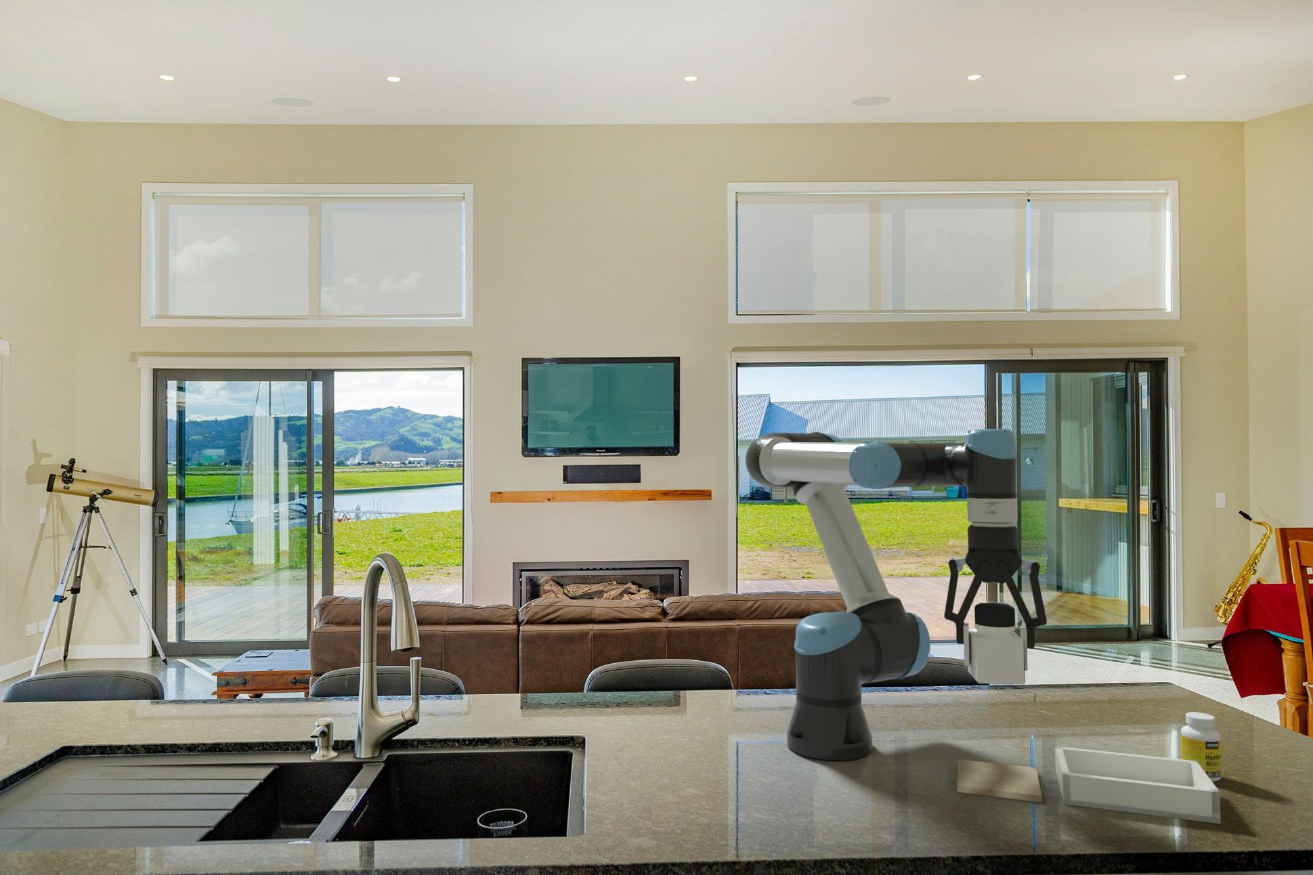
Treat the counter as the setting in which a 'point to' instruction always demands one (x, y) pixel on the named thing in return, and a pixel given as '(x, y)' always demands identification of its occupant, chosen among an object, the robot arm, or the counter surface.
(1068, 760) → the parts bin
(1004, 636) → the medicine bottle
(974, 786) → the board
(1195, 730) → the supplement bottle
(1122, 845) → the counter surface
